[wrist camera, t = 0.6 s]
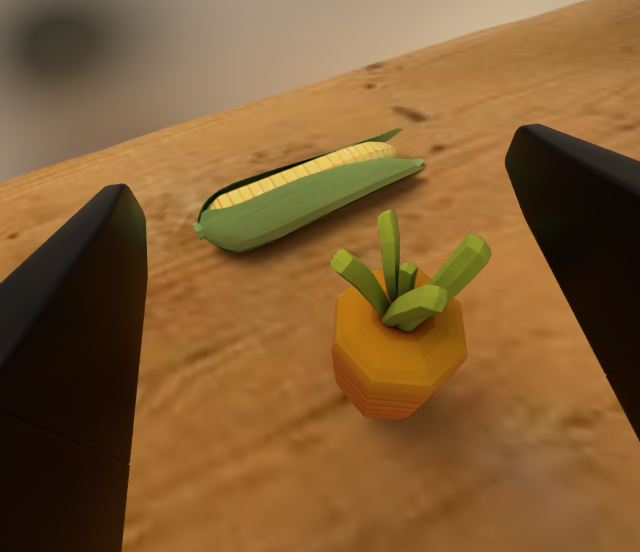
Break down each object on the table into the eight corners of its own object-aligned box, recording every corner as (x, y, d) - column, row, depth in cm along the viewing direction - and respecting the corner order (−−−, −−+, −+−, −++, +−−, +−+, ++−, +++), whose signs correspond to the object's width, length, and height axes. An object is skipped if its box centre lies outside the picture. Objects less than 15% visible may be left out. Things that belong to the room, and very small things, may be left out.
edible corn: (196, 230, 30) (175, 187, 26) (406, 146, 34) (415, 99, 30) (218, 278, 27) (198, 238, 23) (442, 180, 31) (456, 134, 28)
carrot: (317, 420, 21) (287, 284, 9) (353, 347, 24) (371, 157, 11) (398, 464, 20) (503, 379, 7) (428, 383, 22) (548, 210, 10)
